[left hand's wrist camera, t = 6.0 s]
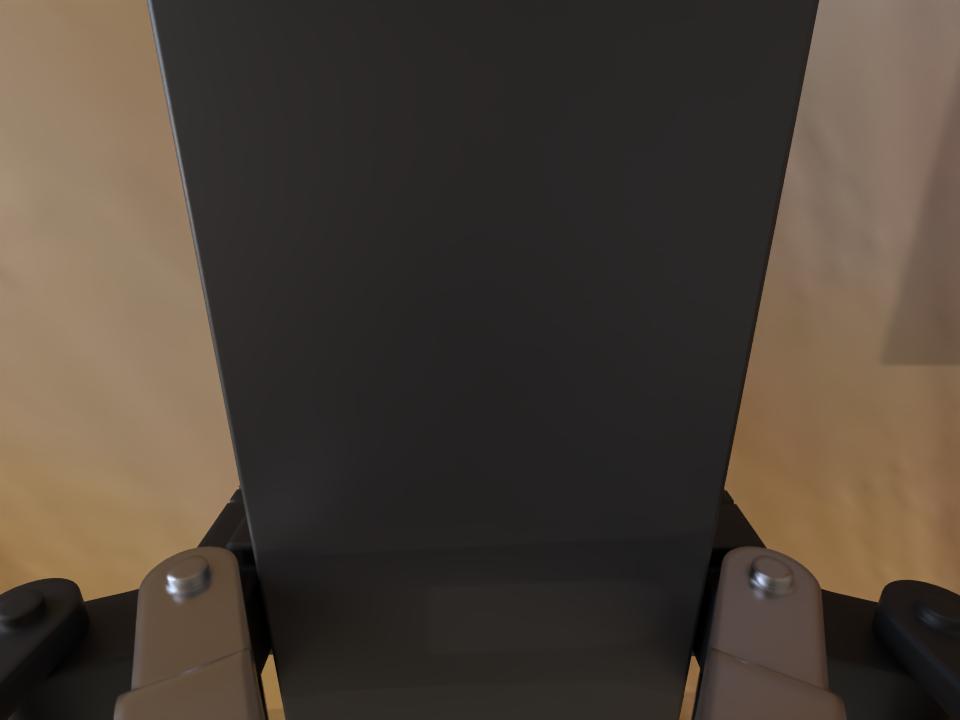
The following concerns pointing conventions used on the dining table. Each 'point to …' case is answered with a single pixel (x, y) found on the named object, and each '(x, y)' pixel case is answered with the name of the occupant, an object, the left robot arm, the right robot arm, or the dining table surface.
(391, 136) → the box
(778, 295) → the dining table surface
